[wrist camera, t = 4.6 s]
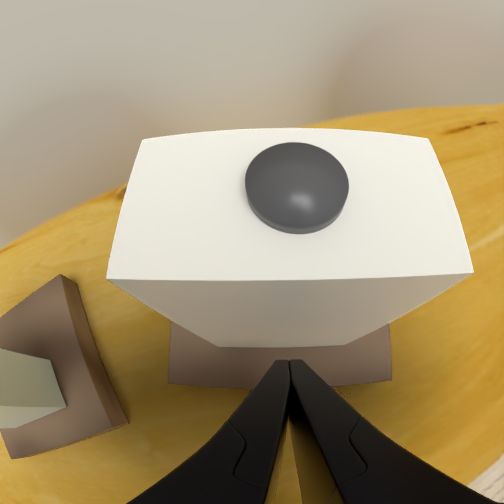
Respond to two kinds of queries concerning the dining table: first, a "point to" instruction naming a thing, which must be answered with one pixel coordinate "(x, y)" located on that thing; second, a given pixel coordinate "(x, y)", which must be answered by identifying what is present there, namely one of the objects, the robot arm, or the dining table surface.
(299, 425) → the robot arm
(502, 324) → the dining table surface
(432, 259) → the tile one
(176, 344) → the plinth
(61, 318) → the plinth
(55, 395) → the tile two
